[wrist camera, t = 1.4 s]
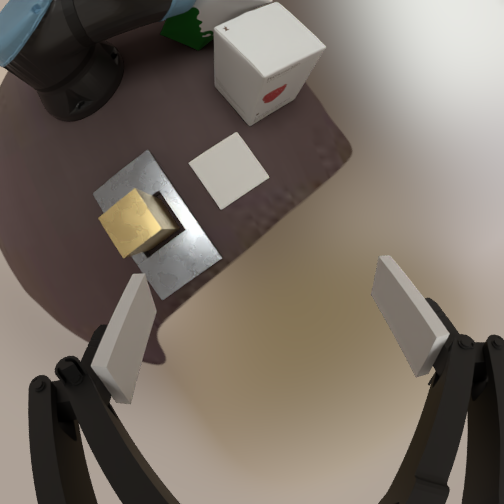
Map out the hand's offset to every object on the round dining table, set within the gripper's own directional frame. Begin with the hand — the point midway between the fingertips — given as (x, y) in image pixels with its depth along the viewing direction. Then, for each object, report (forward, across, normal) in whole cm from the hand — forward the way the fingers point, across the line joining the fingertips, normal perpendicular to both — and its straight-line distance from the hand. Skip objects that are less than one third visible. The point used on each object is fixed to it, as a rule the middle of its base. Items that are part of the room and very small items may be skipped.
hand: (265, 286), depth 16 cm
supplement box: (+32, +2, +11) cm, 34 cm away
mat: (+27, -3, 0) cm, 27 cm away
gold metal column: (+23, -13, -6) cm, 27 cm away
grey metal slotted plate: (+23, -13, -6) cm, 27 cm away
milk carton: (+35, -8, +24) cm, 43 cm away
